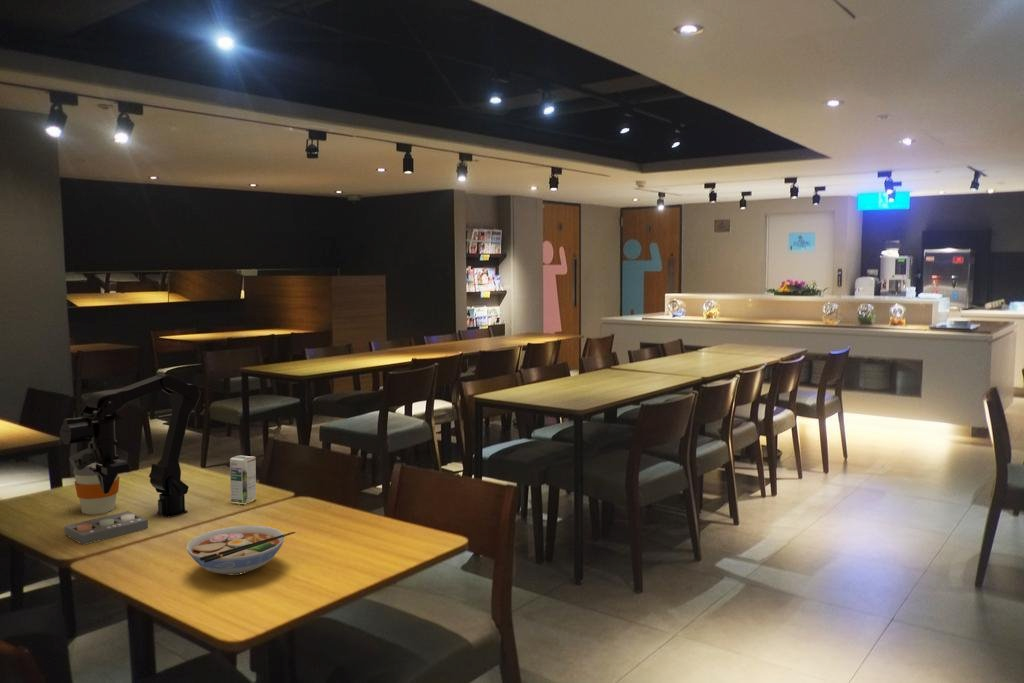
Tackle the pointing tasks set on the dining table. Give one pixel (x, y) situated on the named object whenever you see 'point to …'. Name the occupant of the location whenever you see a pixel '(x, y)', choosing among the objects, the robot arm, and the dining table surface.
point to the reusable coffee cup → (94, 492)
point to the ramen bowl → (236, 548)
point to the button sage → (106, 522)
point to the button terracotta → (84, 527)
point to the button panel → (106, 528)
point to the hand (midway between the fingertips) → (105, 493)
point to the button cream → (127, 517)
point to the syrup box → (243, 478)
